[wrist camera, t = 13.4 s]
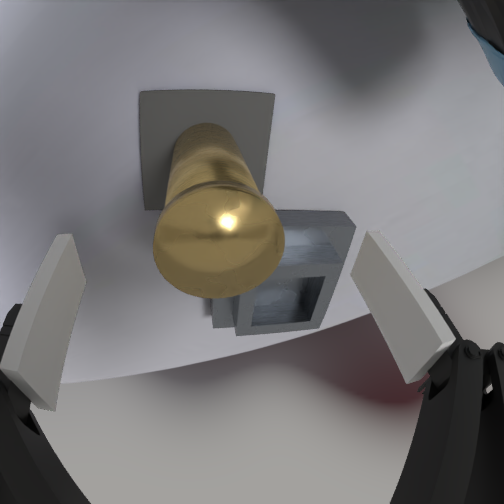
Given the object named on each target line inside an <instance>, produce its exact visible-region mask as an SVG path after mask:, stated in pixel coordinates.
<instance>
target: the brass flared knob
mask: <svg viewBox="0 0 504 504" xmlns="http://www.w3.org/2000/svg"><path fill="white" fill-rule="evenodd" d="M284 247H285V234H284V229H283V226H282V224H281V221H280V219H279V217H278V215H277V213H276V211H275V209H274V208H273V206H272V204H271V203H270V202H269V201H268V199H267V198H266V197H265V196H263V195H262V194H261V193H260V192H259V190H258V188H257V186H256V184H255V181H254V179H253V177H252V175H251V173H250V171H249V169H248V167H247V165H246V163H245V161H244V158H243V156H242V154H241V152H240V150H239V148H238V146H237V144H236V142H235V140H234V138H233V136H232V135H231V134H230V132H229V131H227V130H226V129H225V128H223V127H222V126H220V125H217V124H213V123H200V124H196V125H193V126H191V127H189V128H188V129H186V130H185V131H184V132H183V133H182V134H181V135H180V136H179V138H178V140H177V141H176V144H175V148H174V153H173V158H172V164H171V170H170V176H169V182H168V188H167V195H166V201H165V208H164V209H163V210H162V212H161V214H160V216H159V218H158V221H157V224H156V228H155V235H154V242H153V254H154V259H155V262H156V265H157V267H158V269H159V271H160V273H161V274H162V275H163V277H164V278H165V279H166V280H167V281H168V282H169V283H170V284H171V285H173V286H174V287H175V288H177V289H179V290H181V291H182V292H185V293H187V294H190V295H193V296H197V297H202V298H227V297H232V296H236V295H240V294H242V293H245V292H248V291H250V290H251V289H253V288H255V287H257V286H258V285H260V284H261V283H262V282H264V281H265V280H266V279H267V278H268V277H269V276H270V275H271V274H272V273H273V272H274V270H275V269H276V268H277V266H278V264H279V263H280V260H281V258H282V256H283V252H284Z"/></svg>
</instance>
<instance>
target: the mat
mask: <svg viewBox="0 0 504 504" xmlns="http://www.w3.org/2000/svg"><path fill="white" fill-rule="evenodd" d="M274 100H275V94H273V93H262V92H249V91H233V90H154V91H141V92H140V143H141V165H142V181H143V195H144V206H145V210H163V209H164V208H165V201H166V195H167V188H168V182H169V176H170V170H171V164H172V158H173V153H174V148H175V144H176V141H177V140H178V138H179V136H180V135H181V134H182V133H183V132H184V131H185V130H186V129H188V128H189V127H191V126H193V125H196V124H200V123H213V124H217V125H220V126H222V127H223V128H225V129H226V130H227V131H229V132H230V134H231V135H232V136H233V138H234V140H235V142H236V144H237V146H238V148H239V150H240V152H241V154H242V156H243V158H244V161H245V163H246V165H247V167H248V169H249V171H250V173H251V175H252V177H253V179H254V181H255V184H256V186H257V188H258V190H259V192H260V193H261V194H263V186H264V179H265V171H266V163H267V155H268V147H269V139H270V131H271V124H272V116H273V108H274Z"/></svg>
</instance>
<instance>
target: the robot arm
mask: <svg viewBox="0 0 504 504" xmlns="http://www.w3.org/2000/svg"><path fill="white" fill-rule="evenodd" d="M458 2H459V4H460V6H461V7H462V9H463V11H464V13H465V15H466V20H467V25H468V27H469V29H470V31H471V32H472V34H473V35H474V36H475V37H476V39H477V40H478V41H479V43H480V45H481V47H482V49H483V51H484V53H485V56H486V58H487V60H488V62H489V64H490V67H491V69H492V70H493V72H494V74H495V76H496V77H497V79H498V80H499V81H500V83H501V84H502V85H503V86H504V0H458ZM350 275H351V277H352V279H353V281H354V282H355V284H356V286H357V288H358V289H359V291H360V293H361V295H362V297H363V299H364V300H365V302H366V304H367V306H368V308H369V310H370V312H371V313H372V315H373V317H374V319H375V321H376V323H377V325H378V327H379V329H380V331H381V333H382V335H383V337H384V339H385V340H386V342H387V344H388V346H389V348H390V350H391V353H392V354H393V357H394V359H395V361H396V363H397V365H398V367H399V369H400V371H401V373H402V375H403V377H404V380H405V382H406V384H408V383H411V382H414V381H417V380H420V379H421V378H422V377H423V376H424V375H425V374H426V373H427V372H428V373H429V375H430V377H429V378H428V379H427V380H426V381H425V382H424V383H423V384H422V385H421V386H420V387H419V389H418V392H420V391H421V390H422V389H423V388H424V387H426V388H425V391H424V392H423V393H422V394H424V397H423V401H422V406H421V410H420V414H419V418H418V422H417V426H416V429H415V433H414V436H413V440H412V443H411V447H410V450H409V453H408V456H407V459H406V462H405V465H404V468H403V471H402V474H401V476H400V479H399V482H398V485H397V487H396V490H395V492H394V494H393V497H392V499H391V502H390V504H504V344H503V343H500V342H497V343H496V344H495V345H494V346H493V347H492V348H491V349H490V350H484V349H480V348H479V347H478V345H477V344H476V343H474V342H473V341H470V340H463V339H462V337H461V336H460V334H459V332H458V331H457V329H456V328H455V326H454V325H453V323H452V321H451V320H450V318H449V317H448V315H447V314H445V311H444V310H443V308H442V307H441V306H440V304H439V302H438V300H437V299H436V298H435V296H434V295H433V294H431V293H430V292H429V291H428V290H427V289H423V288H422V286H421V285H420V283H419V282H418V281H417V279H416V278H415V276H414V275H413V274H412V272H411V271H410V270H409V268H408V267H407V266H406V264H405V263H404V262H403V260H402V259H401V258H400V256H399V255H398V254H397V252H396V251H395V250H394V248H393V247H392V246H391V245H390V243H389V242H388V241H387V239H386V238H385V237H384V236H383V234H382V233H381V232H380V231H366V234H365V237H364V240H363V243H362V245H361V248H360V251H359V253H358V256H357V259H356V261H355V264H354V266H353V269H352V272H351V274H350ZM86 283H87V281H86V278H85V275H84V272H83V269H82V266H81V263H80V259H79V256H78V252H77V249H76V245H75V242H74V238H73V234H57V236H56V238H55V239H54V241H53V243H52V245H51V247H50V249H49V250H48V252H47V254H46V256H45V258H44V260H43V262H42V264H41V266H40V268H39V270H38V272H37V274H36V276H35V278H34V280H33V282H32V284H31V286H30V288H29V291H28V293H27V295H26V297H25V300H24V302H23V304H15V305H14V306H13V307H12V309H11V310H10V311H9V312H8V313H7V316H6V318H5V321H4V323H3V327H2V328H1V331H0V504H91V503H90V502H89V501H88V499H87V498H86V497H85V496H84V494H83V493H82V492H81V490H80V489H79V488H78V486H77V485H76V484H75V482H74V481H73V479H72V478H71V476H70V475H69V473H68V472H67V471H66V469H65V468H64V466H63V465H62V463H61V462H60V460H59V458H58V457H57V455H56V454H55V452H54V450H53V449H52V447H51V445H50V444H49V442H48V440H47V438H46V437H45V435H44V433H43V431H42V430H41V428H40V426H39V424H38V422H37V420H36V418H35V416H34V414H33V413H32V411H31V410H30V404H31V402H32V403H33V404H34V405H35V406H36V407H37V408H40V409H44V410H50V411H55V410H56V404H57V398H58V392H59V386H60V381H61V376H62V371H63V367H64V362H65V358H66V353H67V349H68V345H69V341H70V337H71V333H72V329H73V326H74V322H75V318H76V315H77V311H78V308H79V305H80V301H81V298H82V295H83V292H84V289H85V286H86ZM491 384H492V387H493V390H492V391H490V392H489V393H488V394H487V392H486V388H487V387H488V386H490V385H491Z"/></svg>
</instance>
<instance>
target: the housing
mask: <svg viewBox="0 0 504 504" xmlns="http://www.w3.org/2000/svg"><path fill="white" fill-rule="evenodd" d="M275 211H276V213H277V215H278V217H279V219H280V221H281V224H282V226H283V229H284V234H285V247H284V252H283V256H282V258H281V260H280V263H279V264H278V266H277V268H276V269H275V270H274V272H273V273H272V274H271V275H270V276H269V277H268V278H267V279H266V280H265V281H264V282H262V283H261V284H260V285H258V286H257V287H255V288H253V289H251V290H250V291H248V292H245V293H242V294H240V295H236V296H232V297H227V298H211V314H212V324H213V328H228V327H235V333H236V336H244V335H257V334H269V333H280V332H290V331H299V330H308V329H317V328H319V327H320V325H321V322H322V320H323V318H324V316H325V313H326V311H327V308H328V306H329V303H330V300H331V298H332V295H333V293H334V290H335V287H336V284H337V282H338V279H339V276H340V273H341V271H342V268H343V265H344V262H345V259H346V256H347V253H348V251H349V248H350V245H351V242H352V239H353V235H354V232H355V229H356V226H355V224H354V223H353V222H352V221H351V219H350V218H349V217H348V216H347V214H346V213H345V212H336V211H295V210H275Z"/></svg>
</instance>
